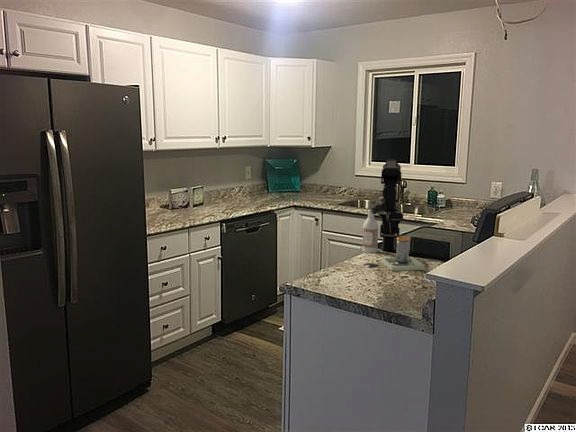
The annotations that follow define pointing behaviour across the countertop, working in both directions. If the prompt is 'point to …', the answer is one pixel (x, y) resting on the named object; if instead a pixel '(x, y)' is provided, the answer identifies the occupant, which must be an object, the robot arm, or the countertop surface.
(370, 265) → the stud
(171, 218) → the countertop surface
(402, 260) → the grey and gold cylinder
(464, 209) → the countertop surface
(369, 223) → the bath foam
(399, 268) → the bin
